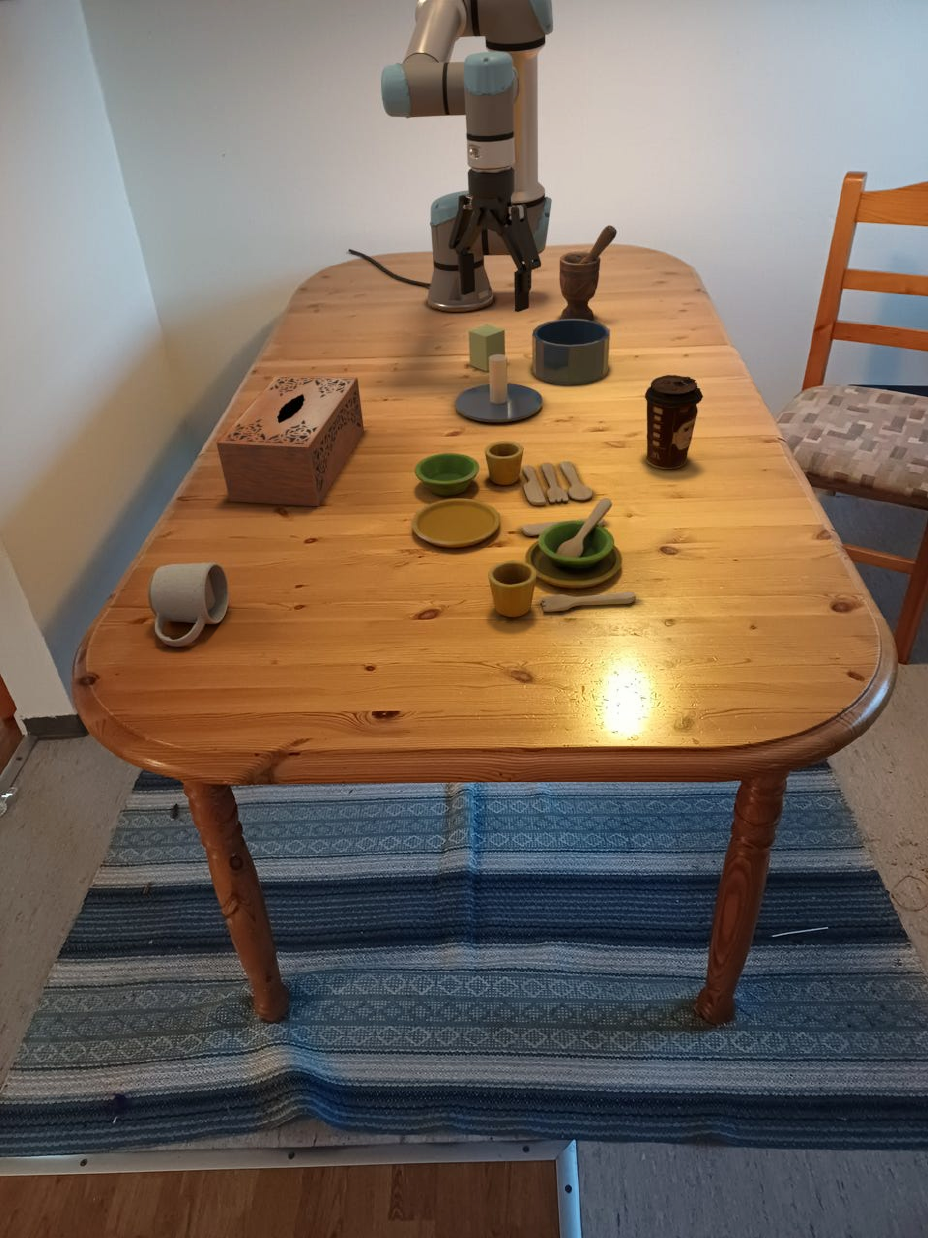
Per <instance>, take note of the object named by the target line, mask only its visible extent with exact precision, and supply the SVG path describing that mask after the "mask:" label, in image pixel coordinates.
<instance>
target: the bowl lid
mask: <svg viewBox="0 0 928 1238" xmlns="http://www.w3.org/2000/svg"><path fill="white" fill-rule="evenodd" d="M488 377H489V379H488V380H489V383H484V384H480V385H476V386H473V387H470V388H467V389H465V390H464V391H462V392H461V393H460V394H458V396H457V397H456V398H455V401H454V403H455V409H456V410H457V412H458V413H459V414H460V415H462V416H464V417H465V418H467V419H470V420H474V421H478V422H484V423H507V422H508V423H509V422H513V421H518V420H519V421H520V420H522V419H526V418H528V417H530V416H532V415H535V414H536V413H538V411H540V409H541V408H542V406H543V403H544V402H543V396H542V394H540V393H541V392H539V391H538V390H536V389H534V388H532V387H530V386H527V385H523V384H518V383H511V382H510V383H509V382H508V357H507V355H506V354H505V355H502V354H495V355H491V356H490V357H489V371H488Z"/></svg>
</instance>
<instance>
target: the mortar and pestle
mask: <svg viewBox="0 0 928 1238" xmlns="http://www.w3.org/2000/svg"><path fill="white" fill-rule="evenodd" d="M617 233H618V231H617V229H616V228H615V226H613V225H607V226H605V227H604V228H603V229H602V231H601V232H600V234H599V235H598V237H597V239H596V241H595V243H594V245H593V246H592V248H591V250H589V252H579V251H578V252H575V251H574V252H567V253H565V254H562V255H561V256H560V257H559V279H558V280H559V288H560V292H561V295H562V297H563V298H564V299H565V301H566V304H567V305H566V307H564V308H563V310H562V312H561V315H560V320H562V319H583V320H589V321H594V320H595V315H594V311H593V309H592V308H590V306H589V301H590V300H591V299H593V298H594V297H595V295H596V292H597V288H598V286H599V279H600V270H601V257H600V256H601V255H602V254H603V252H604V251H605V250H606V249H607V248H608V247H609V245H610V244H611V243H612V242H613V240H614V239H615V238H616V236H617Z"/></svg>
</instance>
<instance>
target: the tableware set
mask: <svg viewBox="0 0 928 1238" xmlns="http://www.w3.org/2000/svg"><path fill="white" fill-rule="evenodd" d="M484 456H485V460H486V464H487V469H488V474H489V479H490V481H491V482H492V483H493V484H496V485H500V486H509V485H512V484H515V483H517V481H518V480H519V479H520V474H521V468H522V473H523V474H524V476H525V478H526V480H527V482H525V483H524V484H523V486H522V488H523V491H524V493H525V496H526V498H527V500H528V502H529V503H530V504H531V505H532V506H545V505H546V501H547V500H546V497H547V499H548V501H549V503H556V502H557V503H561V502H568V501H569V498H571V499H572V500H576V501H585V500H586V501H587V500H589V499H591V498H592V497H593V490H592V489H591V487H589V486H587V485H584V484H582V483H581V482H580V480H579V477H578V475H577V472H576V470H575V466H574V465H573V463H572V462H571V461H568V460H567V461H566V460H565V461H561V462H560V470H561V472H562V473H563V474H564V477H565V478H566V480H567V481H568V482H569V485H570V488H568V490H566V489H564V488H562V487H561V486H559V485H558V481H557V478H556V474H555V471H554V470H555V469H554V467H553V465H552V464H551V463H550V462H544V463H542V464H541V471H542V473H543V476H544V478H545V479H546V480H545V481H546V482H547V484H548V486H549V489H548V490H547V491H546V497H545V495H544V493H543V490H542V487H541V485H540V483H539V482H540V481H538V477H537V475H536V473H535V471H534V468H533V466H531V465H529V464H528V465H523V466H522V461H523V456H524V446H523V445H522V444H520V443H518V442H515V441H510V440H509V441H506V440H504V441H495V442H493V443H490V444H488V445H487V446H486V447H485V449H484ZM479 471H480V464H479V462H478V461H477V460H476V459H474V458H473V457H471V456H469V455H468V454H467V455H466V454H462V453H456V452H455V453H454V452H445V453H437V454H433V455H430V456H426V457H425V458H422V459H421V460H420V461H419V462H418V463H417V464H416V465H415V467H414V474H415V476H416V478H417V479H418V480H419V481H420V482H422V483H423V485H424V486H425V487H426V489H428V490H429V491H430V492H431V493H432V494H434V495H437V496H441V497H442V496H443V497H451V496H455V495H459V494H461V493H463V492H465V491H466V490H467V489H468V487H469V486H470V484H471V483H472V481H473V480H474V478H476V476H477V475H478V474H479ZM567 491H568V492H567ZM612 506H613V503H612V500H611V499H610V498H608V497H603V498H601V499H600V500H599V501H598V502H597V503H596V505H595V507H594V508H593V510H592V511H591V512H590V514H589V516H588V517H587V518H582V519H581V518H580V519H572V520H562V521H552V522H544V523H543V522H542V523H533V524H525V525H522V527H521V532H522V533H523V534H524V535H525V536H527V537H528V536H529V537H531V536H538V538H537V540H536V541H535V542H534V543H532V544H531V545H530V546H529V547H528V549H527V551H526V553H525V557H524V558H525V559H524V560H525V562H524V561H520V560H505V561H501V562H499V563H496V564H494V565H493V566H492V567H491V568H489V570H488V573H487V577H488V583H489V586H490V591H491V596H492V600H493V606H494V608H495V610H496V612H497V613H498V614H500V615H502V616H504V617H507V618H508V617H509V618H516V617H521V616H523V615H526V614H527V613H528V612H529V611H530V609H531V607H532V603H533V598H534V592H535V587H536V583H537V582H536V581H537V578H539V579H540V580H541V581H543V582H544V583H547V584H549V585H551V586H555V587H558V588H563V589H573V590H575V589H586V588H590V587H594V586H598V585H600V584H602V583H604V582H605V581H607V580H608V579H610V578H612V577H613V576H614V575H616V573H617V572H619V569H620V568H621V566H622V563H623V555H622V553H621V551H620V550H619V548H618V547H617V546H616V545H615V539H614V536H613V535H612V532H610V531H609V530H608V529H607V528H606V527H604V525H605V518H604V517H605V516H606V515H607V514H608V513H609V511H610V509H611V508H612ZM501 520H502V519H501V516H500V513H499V511H498V510H497V509H496V508H495V507H493V506H492V505H490V504H488V503H486V502H484V501H481V500H477V499H472V498H463V497H462V498H448V499H447V498H446V499H442V500H437V501H434V502H431V503H429V504H427V505H425V506H423V507H422V508H420V509H419V510H418V511H417V512H415V514H414V515H413V517H412V519H411V528H412V530H413V532H414V533H415V534H416V535H417V536H418V537H419V538H421V539H422V540H424V541H425V542H427V543H429V544H431V545H434V546H437V547H442V548H453V549H455V548H465V547H470V546H473V545H477V544H479V543H481V542H483V541H485V540H487V539H488V538H489V537H491V536H492V535H493V534H494V533H495V532H496V531H497V530H498V529H499V527H500V525H501ZM636 600H637V595H636V593H635V592H633V591H622V592H621V591H620V592H613V593H603V594H592V595H583V596H571V595H567V594H561V593H560V594H554V595H548V596H543V597H541V598H540V602H541V605H542V610H543V612H562V611H567V610H569V609H572V608H573V607H576V606H577V607H578V606H595V605H596V606H597V605H598V606H599V605H621V604H623V605H625V604H631V603H633V602H635V601H636Z"/></svg>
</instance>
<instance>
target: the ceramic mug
mask: <svg viewBox="0 0 928 1238" xmlns="http://www.w3.org/2000/svg"><path fill="white" fill-rule="evenodd" d="M228 582H229V581H228V578H227V575H226V572H225V570H224V568H223V566H222V565H221V564H220V563H218V562H215V561H213V562H211V561H210V562H194V563H193V562H190V563H170V564H165V565H161V566H159V567H157V568H156V569H154V571H153V572H152V573H151V575H150V577H149V580H148V584H147V592H146V593H147V601H148V606H149V608H150V611H151V612H152V613H153V615H155V617H156V618H155V622H154V631H155V633H156V635H157V637H158V638H159V640H161V641H162V643H164V644H165V645H166V646H169V647H174V648H175V647H177V648H179V647H180V648H181V647H185V646H188V645H190V644H191V643H193V642H195V640H196V639H197V638H198V637H199V636H200V634H201V632H202V631H203V630H204V627H205V625H217V624H219V623H220V622H221V621H222V620H223V619H224V617H225V615H226V613H227V610H228V607H229V600H230V599H229V598H230V592H229V591H230V589H229V588H230V587H229V583H228ZM165 621H167V622H175V623H192V624H194V625H193V626H192V628H191V630H190V631H189V632H187V634H185V635H183V636H182V637H180V638H177V639H171V637H169V636H166V635H165V634H163V628H164V627H163V626H164V622H165Z"/></svg>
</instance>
